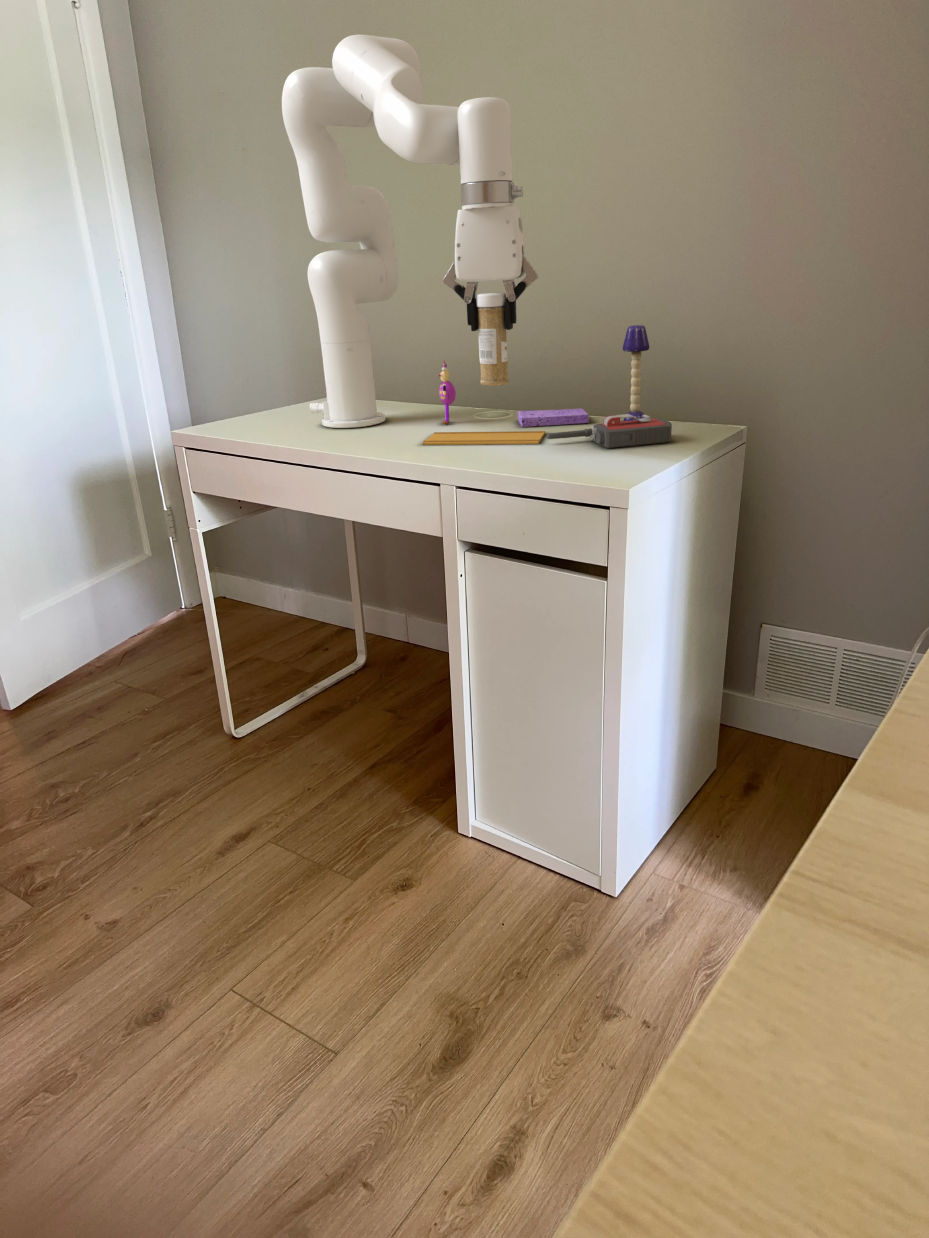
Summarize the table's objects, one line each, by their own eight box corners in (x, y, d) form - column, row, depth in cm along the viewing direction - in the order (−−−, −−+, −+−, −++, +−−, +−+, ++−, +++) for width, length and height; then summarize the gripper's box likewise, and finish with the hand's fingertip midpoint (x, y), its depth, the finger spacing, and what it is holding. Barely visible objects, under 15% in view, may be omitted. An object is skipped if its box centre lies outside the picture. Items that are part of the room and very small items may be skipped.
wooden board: (422, 445, 146) (422, 442, 146) (435, 434, 154) (435, 431, 154) (538, 444, 142) (538, 441, 142) (545, 433, 150) (545, 430, 150)
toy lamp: (649, 423, 153) (652, 326, 146) (623, 425, 153) (625, 327, 146) (644, 419, 157) (647, 324, 151) (619, 420, 157) (620, 325, 151)
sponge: (517, 420, 162) (517, 410, 162) (583, 417, 162) (583, 407, 162) (520, 427, 156) (520, 417, 155) (589, 423, 156) (589, 413, 155)
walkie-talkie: (657, 432, 145) (545, 443, 142) (658, 406, 143) (544, 416, 140) (680, 442, 137) (561, 453, 134) (681, 414, 135) (560, 425, 132)
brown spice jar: (514, 383, 133) (512, 292, 128) (490, 387, 131) (487, 294, 126) (497, 381, 137) (494, 291, 132) (474, 384, 135) (470, 294, 129)
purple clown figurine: (442, 418, 169) (438, 356, 164) (458, 418, 169) (454, 355, 164) (439, 429, 158) (435, 362, 154) (456, 428, 158) (452, 361, 154)
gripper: (548, 195, 125) (550, 325, 132) (437, 203, 129) (444, 329, 136) (541, 192, 118) (543, 330, 126) (424, 200, 122) (432, 334, 129)
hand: (492, 328), depth 131 cm, fingers closed on brown spice jar, 4 cm apart
